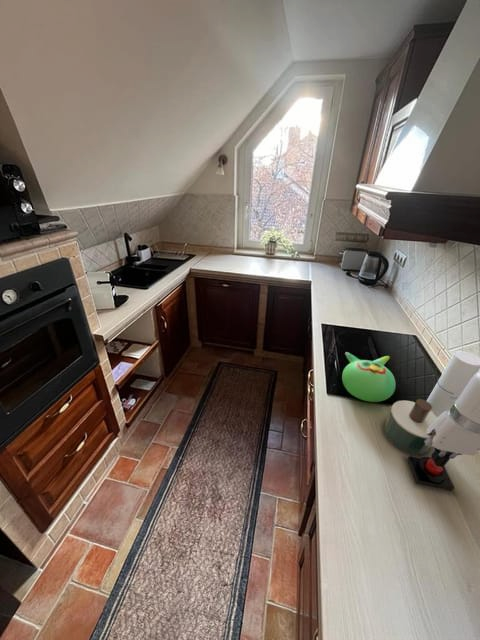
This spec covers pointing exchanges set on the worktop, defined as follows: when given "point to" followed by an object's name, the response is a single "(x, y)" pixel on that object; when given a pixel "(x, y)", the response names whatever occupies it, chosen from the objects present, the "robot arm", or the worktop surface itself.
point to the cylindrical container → (453, 381)
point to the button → (433, 467)
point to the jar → (404, 438)
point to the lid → (414, 416)
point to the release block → (428, 474)
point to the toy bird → (368, 379)
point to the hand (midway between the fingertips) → (436, 461)
